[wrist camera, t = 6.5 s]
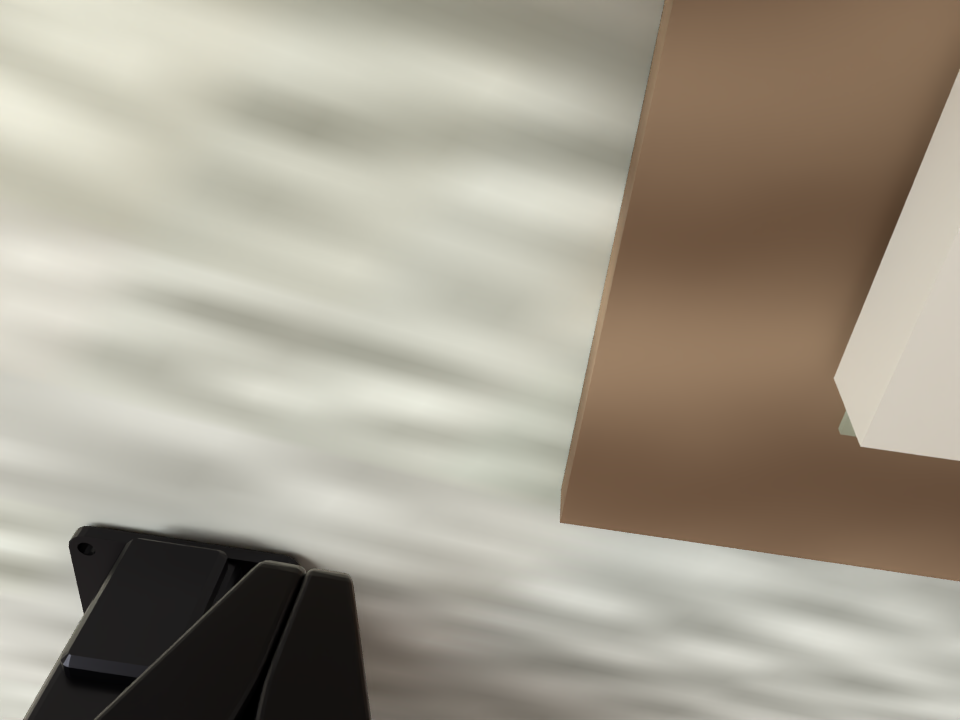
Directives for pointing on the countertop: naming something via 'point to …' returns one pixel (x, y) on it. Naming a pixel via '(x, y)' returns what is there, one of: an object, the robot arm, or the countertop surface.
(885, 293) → the glazed tile
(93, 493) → the countertop surface
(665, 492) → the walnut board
